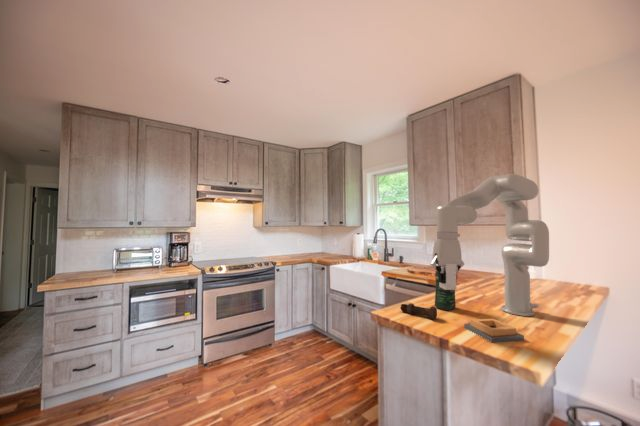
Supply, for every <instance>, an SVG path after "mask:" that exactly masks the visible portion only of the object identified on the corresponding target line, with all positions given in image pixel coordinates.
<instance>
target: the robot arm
mask: <svg viewBox="0 0 640 426" xmlns="http://www.w3.org/2000/svg"><path fill="white" fill-rule="evenodd" d="M538 194H539V186H538V184H537V183H536V182H535V181H534V180H531V179H529V178H527V177H525V176H522V175H519V174H516V173H507V174H501V175H500V174H499V175H494V176H490V177H488V178H486V179H485V180H484V181H482V183H480V184H479V185H478V186H477V187H475V188H474V189H473V190H471V191H469V192H466V193H464V194H463V195H460V196H458V197H456V198H454V199H452V200H450V201H449V202H448V203H446V204H445V205H439V206H438V207H437V209H436V239H434V243H433V249H432V261H431V262H430V266H431V267H432V268H434V269H435V271H437V272H438V280H439V282H440V283H443V284H445V273H444V268H445V265H446V264H456V284H457V283H458V273H459V271H460V270H461V268H462V267H464V266H465V263H464V261H463V259H462V249H461V248H462V247H461V243H460V240H459V238H460V236H461V235H460V233H459V231H458V230H459V227H458V225H469V224H472V223H474V222H475V221H476V220H477V218H478V213H477V210H478V209H482V208H484V207H487V206H489V205H490V204H491V203H492V202H493V201H494V200H495V199H496V200H498V202H500V204H501V206H502V207H503V209H504V211H505V235H506V238H507V239H509V240H512V241H518V242H519V241H520V242H521V241H522V242H531V244H527V243H516V242H515V243H514V242H513V243H507V244H505V245H503V246H502V247H501V256H502V261H503V266H504V267H503V268H504V269H503V270H504V305H501V306H500V309H501V311H503V312H505V313H508V314H509V315H510V314H511V315H515V316H522V317H533V316H535V315H536V312H535V311H534V310H533V309H536V308H537V309H538V308H539V307H540V306H539V304H538V303H532V302H531V275H530V272H529V270H528V269H527V267H526V266H530V267H539V268H542V267H545V266H546V265H548V263H549V260H550V230H549V227H548V224H547V223H545V222H544V221H542V220H537V219H529V212H528V211H529V210H528V208H527V206H526V204H525V203H524V202H522V201H530V200H534V199H536V198H537V196H538Z"/></svg>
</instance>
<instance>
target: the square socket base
mask: <svg viewBox="0 0 640 426" xmlns="http://www.w3.org/2000/svg"><path fill="white" fill-rule="evenodd" d="M464 328H465V329H466V330H468V331H470V332H471V331H472V332H471V333H473V332H474V334H475V333H476V334H475V335H477V334H478V335H477V336H479V335H480V336H479V337H481V336H482V337H483V339H484V338H485V339H484V340H486V339H487V341H488V340H489V341H488V342H490V341H491V342H490V343H503V342H517V341H525V335H524V334H521V333H519V332H517V327H513V326H511V325H509V324H507V323H504V322H502V321H500V320H498V319H495V318H480V319H479V318H478V319H470V323H464ZM482 337H481V338H482Z"/></svg>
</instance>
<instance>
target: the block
mask: <svg viewBox="0 0 640 426" xmlns="http://www.w3.org/2000/svg"><path fill="white" fill-rule="evenodd" d="M444 273H445V284H443V283H440V282H439V287H440V288H443V289H445V290H455V291H456V290H457V283H456V264H446V265H445V268H444Z"/></svg>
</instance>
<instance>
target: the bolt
mask: <svg viewBox="0 0 640 426" xmlns="http://www.w3.org/2000/svg"><path fill="white" fill-rule="evenodd" d="M399 309H400V310H401V311H402V312H406V313H407V314H408V315H421V316H424V317H429V320H430V321H435V320H436V319H437V316H438V308H437V307H435V305H434V306H430V307H429V308H428V307H422V306H416V305H415V303H413V302H412V303H411V302H410V303H408V304H405V303H403V304H400V308H399Z"/></svg>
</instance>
